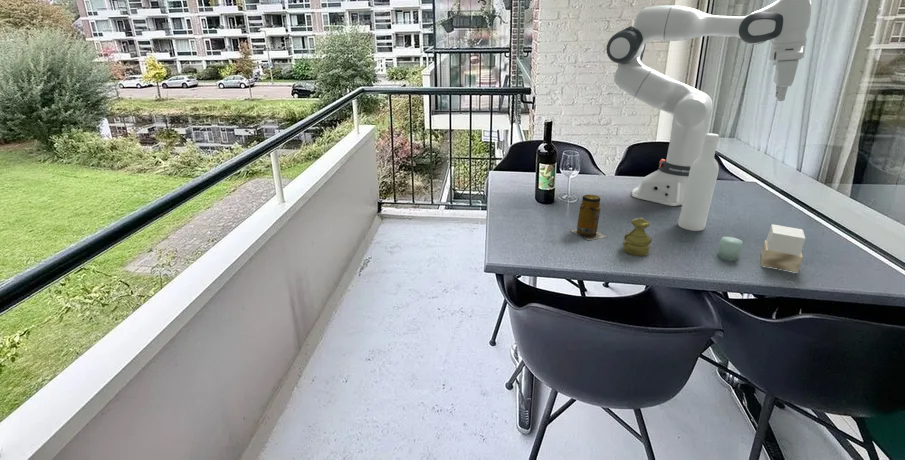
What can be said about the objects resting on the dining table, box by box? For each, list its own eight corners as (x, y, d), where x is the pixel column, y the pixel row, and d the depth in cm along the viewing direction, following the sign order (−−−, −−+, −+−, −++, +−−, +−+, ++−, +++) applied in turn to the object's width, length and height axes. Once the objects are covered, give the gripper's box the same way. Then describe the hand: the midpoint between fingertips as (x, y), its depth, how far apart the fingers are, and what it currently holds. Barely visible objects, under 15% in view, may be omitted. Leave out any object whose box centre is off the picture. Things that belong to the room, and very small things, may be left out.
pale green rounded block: (716, 258, 128) (721, 241, 126) (717, 251, 132) (721, 235, 130) (738, 262, 125) (742, 246, 123) (738, 255, 129) (742, 239, 127)
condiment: (587, 227, 147) (592, 192, 143) (606, 237, 140) (612, 200, 136) (569, 231, 144) (574, 195, 140) (588, 241, 137) (593, 203, 133)
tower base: (761, 267, 123) (766, 250, 121) (760, 255, 130) (765, 239, 128) (796, 274, 120) (802, 257, 118) (794, 262, 126) (799, 246, 124)
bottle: (704, 224, 150) (727, 133, 138) (704, 233, 144) (727, 138, 132) (678, 220, 154) (698, 130, 142) (676, 228, 147) (697, 135, 136)
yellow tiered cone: (654, 256, 128) (660, 223, 124) (628, 257, 128) (634, 223, 124) (641, 245, 135) (648, 213, 131) (617, 245, 134) (622, 214, 131)
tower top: (767, 250, 122) (772, 232, 120) (766, 240, 127) (771, 224, 125) (799, 256, 118) (805, 238, 116) (796, 246, 124) (802, 229, 122)
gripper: (772, 52, 151) (766, 95, 156) (776, 55, 135) (769, 103, 140) (796, 51, 148) (788, 95, 153) (803, 53, 132) (794, 102, 137)
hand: (779, 99), depth 146 cm, fingers open, 8 cm apart
